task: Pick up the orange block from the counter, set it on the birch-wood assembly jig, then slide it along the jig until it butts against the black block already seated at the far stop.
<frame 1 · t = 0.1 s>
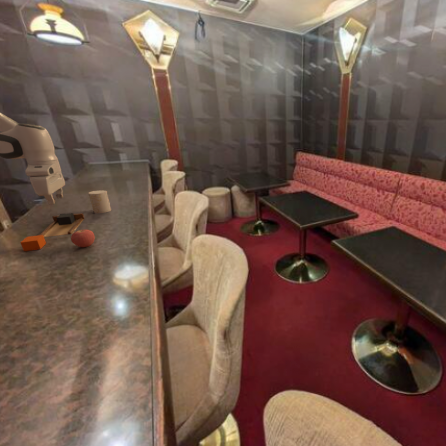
hand: (56, 201, 103), 18 cm above the bar counter, tool pointing down, fingers open, 8 cm apart
black block: (67, 222, 126), point 1 cm above the bar counter, touching jig
jig: (63, 228, 121), on the bar counter
cup: (103, 212, 145), on the bar counter
apple: (86, 246, 105), on the bar counter
orange block: (35, 247, 102), on the bar counter
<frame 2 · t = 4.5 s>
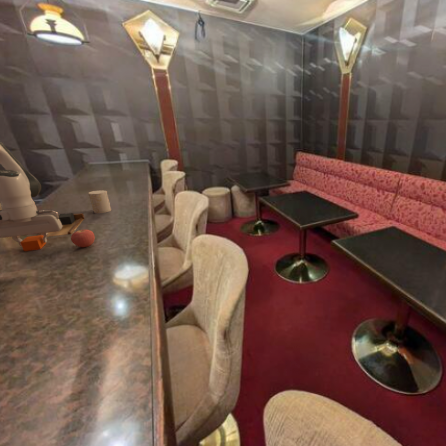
hand: (34, 243, 102), 2 cm above the bar counter, tool pointing down, fingers closed on orange block, 5 cm apart
orange block: (35, 247, 102), on the bar counter, touching gripper
everything else where it was.
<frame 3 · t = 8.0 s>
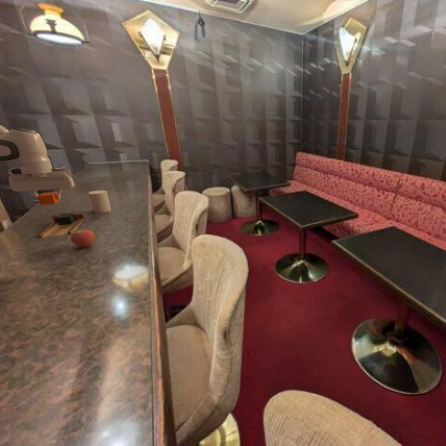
hand: (49, 199, 112), 16 cm above the bar counter, tool pointing down, fingers closed on orange block, 5 cm apart
orange block: (50, 202, 112), point 14 cm above the bar counter, touching gripper
everything else where it was.
when the fingers open (2 cm above the bar counter, at t = 11.5 s): orange block stays where it is, resting on jig.
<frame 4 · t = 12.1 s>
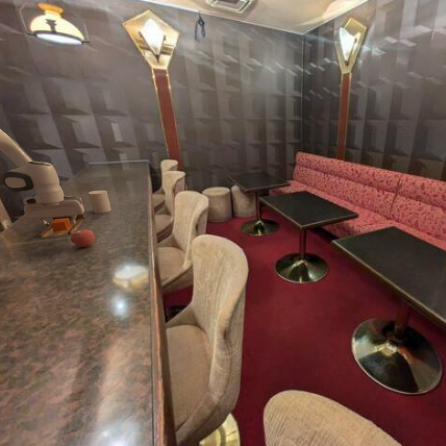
hand: (60, 225, 118), 3 cm above the bar counter, tool pointing down, fingers open, 8 cm apart
orange block: (62, 228, 119), point 1 cm above the bar counter, touching jig
everything else where it was.
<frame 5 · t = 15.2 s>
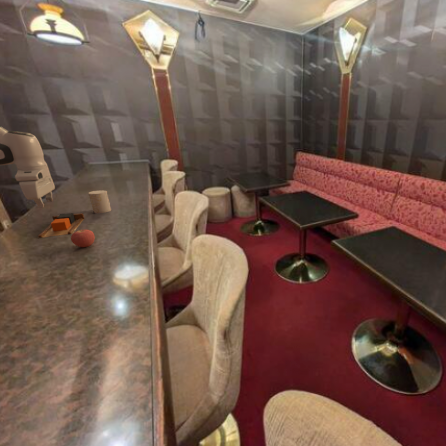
hand: (46, 204, 108), 15 cm above the bar counter, tool pointing down, fingers open, 8 cm apart
nothing on the bar counter moved.
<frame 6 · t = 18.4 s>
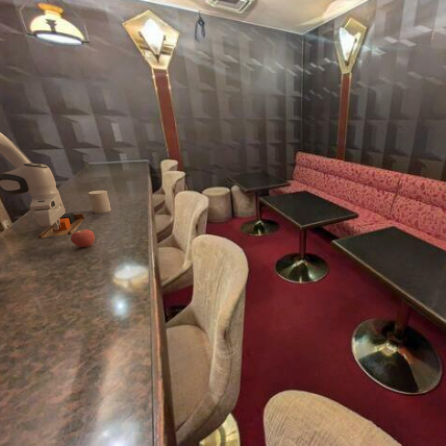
hand: (57, 228, 115), 2 cm above the bar counter, tool pointing down, fingers closed
orange block: (62, 228, 119), point 1 cm above the bar counter, touching gripper
everything else where it was.
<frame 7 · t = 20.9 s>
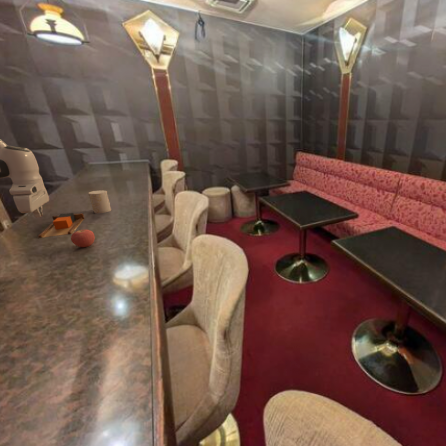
hand: (39, 216, 110), 9 cm above the bar counter, tool pointing down, fingers closed
orange block: (64, 226, 121), point 1 cm above the bar counter, touching jig
everything else where it was.
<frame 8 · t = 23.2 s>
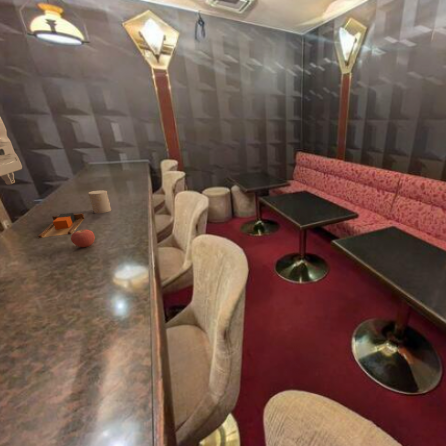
hand: (10, 183, 103), 24 cm above the bar counter, tool pointing down, fingers closed
nothing on the bar counter moved.
at the end: orange block 6.0 cm from the black block (horizontally); orange block 0.4 cm from the target spot on the jig, point 0.8 cm above the jig's base; orange block tilted 0° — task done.
